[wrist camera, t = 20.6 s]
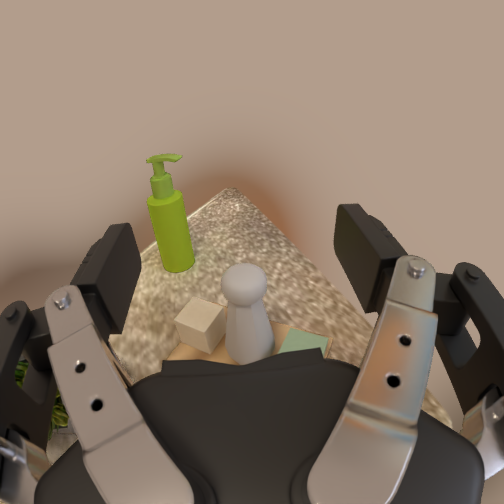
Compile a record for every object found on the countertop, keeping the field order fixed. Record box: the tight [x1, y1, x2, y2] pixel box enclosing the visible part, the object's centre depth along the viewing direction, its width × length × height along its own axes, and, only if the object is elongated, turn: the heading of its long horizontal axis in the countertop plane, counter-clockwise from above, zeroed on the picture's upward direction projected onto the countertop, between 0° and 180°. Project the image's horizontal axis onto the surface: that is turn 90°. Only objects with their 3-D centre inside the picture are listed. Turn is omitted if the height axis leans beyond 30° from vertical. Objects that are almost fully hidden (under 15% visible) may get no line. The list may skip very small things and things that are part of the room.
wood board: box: [166, 302, 333, 365], centre depth 34 cm, size 18×12×1 cm, turn 65°
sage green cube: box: [278, 328, 329, 358], centre depth 30 cm, size 4×4×4 cm
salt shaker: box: [221, 263, 275, 365], centre depth 30 cm, size 6×6×13 cm
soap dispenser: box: [146, 154, 195, 273], centre depth 45 cm, size 6×7×20 cm
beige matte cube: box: [174, 297, 227, 354], centre depth 35 cm, size 4×4×4 cm
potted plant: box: [15, 354, 76, 440], centre depth 23 cm, size 12×13×15 cm
